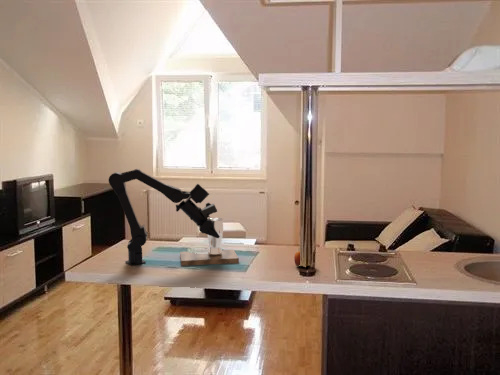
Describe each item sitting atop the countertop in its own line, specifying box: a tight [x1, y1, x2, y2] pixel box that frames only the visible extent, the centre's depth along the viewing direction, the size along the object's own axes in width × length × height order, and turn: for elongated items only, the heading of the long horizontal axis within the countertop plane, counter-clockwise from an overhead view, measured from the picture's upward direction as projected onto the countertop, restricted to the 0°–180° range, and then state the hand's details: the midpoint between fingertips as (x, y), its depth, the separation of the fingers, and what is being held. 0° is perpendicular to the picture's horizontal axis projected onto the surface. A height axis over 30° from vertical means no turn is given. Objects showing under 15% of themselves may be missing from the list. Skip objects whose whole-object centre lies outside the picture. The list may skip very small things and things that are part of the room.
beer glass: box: [206, 217, 224, 255], centre depth 206 cm, size 7×7×15 cm
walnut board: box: [179, 249, 240, 266], centre depth 207 cm, size 24×15×2 cm, turn 100°
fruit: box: [293, 250, 301, 268], centre depth 195 cm, size 8×8×8 cm
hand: (218, 235), depth 206 cm, fingers closed on beer glass, 6 cm apart
